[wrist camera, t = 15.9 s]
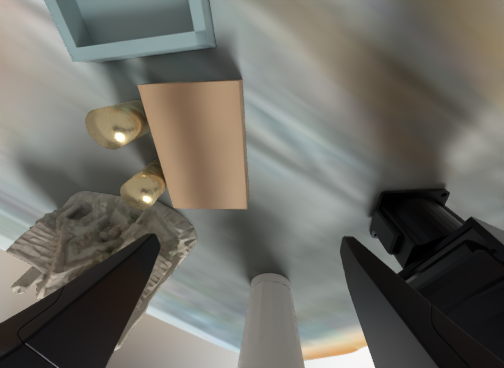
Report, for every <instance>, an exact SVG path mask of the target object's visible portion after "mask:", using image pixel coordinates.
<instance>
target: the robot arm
mask: <svg viewBox="0 0 504 368" xmlns="http://www.w3.org/2000/svg"><path fill="white" fill-rule="evenodd" d="M449 194H450V193H449V191H447V190H446V189H426V190H402V191H384V192H382V193H381V195H380V198H379V202H378V206H377V209H376V210H375V213H374V217H373V220H372V224H371V232H370V234H371V236H372V237H373V238H378V239H379V240H380V242H381V243H382V245H383V246H384V248H385V249H386V251H387V252H388V253H389V254H390V255H394V256H395V258H396V259H397V261H398V262H399V264H400V265H401V267H402V268H403V270H401V271H400V272H399V273H397V274H396V273H395V272H394V271H393V270H392V269H390V268H389V267H388V266H387V265H386V264H385V263H383V262H382V261H381V260H380V259H379V258H378V257H376V256H375V255H374V254H373V253H372V252H371V251H369V250H368V249H367V248H366V247H365V246H364V245H362V244H361V243H360V242H359V241H358V240H357V239H356V238H354V237H352V236H344V237H343V238H342V243H341V248H340V255H341V259H342V264H343V268H344V272H345V277H346V281H347V286H348V289H349V292H350V295H351V298H352V301H353V304H354V307H355V310H356V313H357V316H358V319H359V322H360V324H361V327H362V330H363V333H364V336H365V339H366V342H367V345H368V348H369V350H370V353H371V356H372V359H373V362H374V365H375V368H504V231H503V230H500V229H498V228H496V227H494V226H492V225H489V224H487V223H485V222H483V221H481V220H478V219H476V218H474V217H470V218H469V219H468V220H466V221H464V220H463V219H462V218H460V217H459V216H458V215H457V214H455V213H454V212H453V211H451V210H450V209H449V208H448V207H446V206H445V203H446V201H447V199H448V197H449ZM386 195H387V196H386ZM385 196H386V197H385ZM160 248H161V245H160V242H159V240H158V238H157V235H156V234H155V233H146V234H145V235H143V236H141V237H140V238H138V239H137V240H135V241H133V242H132V243H130V244H129V245H127V246H126V247H124V248H122V249H121V250H119V251H118V252H116V253H114V254H113V255H111V256H110V257H108V258H107V259H105V260H103V261H102V262H100V263H99V264H97V265H95V266H94V267H92V268H91V269H89V270H88V271H86V272H84V273H83V274H81V275H80V276H78V277H76V278H75V279H73V280H72V281H70V282H69V283H67V284H66V285H64V286H62V287H61V288H59V289H57V290H56V291H54V292H53V293H51V294H49V295H48V296H46V297H45V298H43V299H41V300H40V301H38V302H36V303H35V304H33V305H31V306H30V307H28V308H26V309H25V310H23V311H21V312H19V313H18V314H16V315H14V316H12V317H11V318H9V319H7V320H5V321H4V322H2V323H0V368H106V366H107V364H108V362H109V360H110V357H111V356H112V354H113V351H114V350H115V347H116V345H117V343H118V341H119V339H120V337H121V335H122V333H123V331H124V329H125V327H126V325H127V323H128V321H129V319H130V317H131V315H132V313H133V311H134V309H135V307H136V305H137V303H138V301H139V299H140V297H141V294H142V292H143V290H144V288H145V286H146V284H147V282H148V280H149V278H150V275H151V273H152V270H153V267H154V265H155V262H156V260H157V257H158V254H159V252H160Z"/></svg>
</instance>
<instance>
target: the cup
mask: <svg viewBox="0 0 504 368" xmlns="http://www.w3.org/2000/svg"><path fill="white" fill-rule="evenodd" d="M238 368H305V367H304V361H303V356H302V350H301V345H300V339H299V333H298V328H297V322H296V316H295V311H294V305H293V299H292V294H291V285H290V282H289V281H288V279H287V278H285V277H284V276H282V275H279V274H275V273H264V274H260V275H258V276H256V277H254V278H253V279H252V281H251V285H250V296H249V302H248V308H247V315H246V321H245V327H244V333H243V340H242V346H241V350H240V356H239V362H238Z"/></svg>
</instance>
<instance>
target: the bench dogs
mask: <svg viewBox="0 0 504 368" xmlns="http://www.w3.org/2000/svg"><path fill="white" fill-rule="evenodd" d="M85 122H86V128H87V130H88V132H89V134H90V136H91V137H92V138H93V139H94V140H95V141H96V142H97V143H98V144H100V145H101V146H103V147H106V148H109V149H118V148H120V147H122V146H124V145H126V144H128V143H130V142H132V141H133V140H135V139H137V138H139V137H141V136H143V135H145V134H147V133H148V132H150V131H151V130H150V126H149V123H148V119H147V116H146V113H145V109H144V106H143V103H142V100H133V101H129V102H124V103H120V104H116V105H112V106H108V107H103V108H99V109H95V110H92V111H90V112H89V113H88V114H87V116H86V121H85ZM166 188H167V184H166V180H165V177H164V174H163V170H162V167H161V163H160V160H159V159H156V160H153V161H152V162H151V163H149V164H148V165H147V166H146V167H144V168H143V169H142V170H141V171H139V172H138V173H137V174H136V175H134V176H133V177H132V178H131V179H129V180H128V181H127V182H126V183H124V184H123V185H122V186H121V188H120V194H121V197H122V198H123V200H124V201H125V202H126V203H127V204H128V205H130V206H131V207H133V208H136V209H141V210H144V209H148V208H150V207H151V206H152V205H153V204H154V202H155V201H156V200H157V199H158V198H159V197H160V195H161V194H162V193H163V192H164V191H165V189H166Z"/></svg>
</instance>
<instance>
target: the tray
mask: <svg viewBox="0 0 504 368" xmlns="http://www.w3.org/2000/svg"><path fill="white" fill-rule="evenodd" d="M44 1H45V3H46V5H47V7H48V10H49V12H50V14H51V16H52V18H53V20H54V22H55V25H56V27H57V29H58V31H59V33H60V35H61V37H62V39H63V42H64V44H65V46H66V48H67V50H68V52H69V54H70V57H71V59H72V61H73V62H94V63H98V62H106V61H114V60H122V59H129V58H137V57H145V56H152V55H160V54H168V53H176V52H183V51H191V50H199V49H206V48H214V47H216V41H215V34H214V28H213V22H212V15H211V9H210V2H209V0H44Z"/></svg>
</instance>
